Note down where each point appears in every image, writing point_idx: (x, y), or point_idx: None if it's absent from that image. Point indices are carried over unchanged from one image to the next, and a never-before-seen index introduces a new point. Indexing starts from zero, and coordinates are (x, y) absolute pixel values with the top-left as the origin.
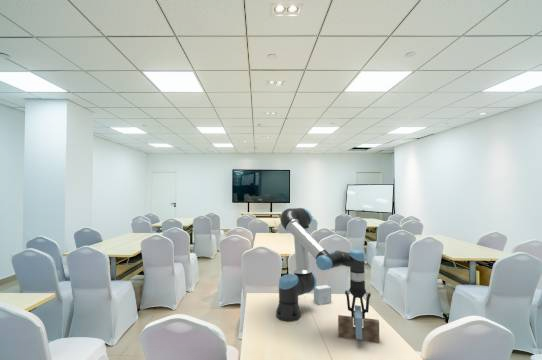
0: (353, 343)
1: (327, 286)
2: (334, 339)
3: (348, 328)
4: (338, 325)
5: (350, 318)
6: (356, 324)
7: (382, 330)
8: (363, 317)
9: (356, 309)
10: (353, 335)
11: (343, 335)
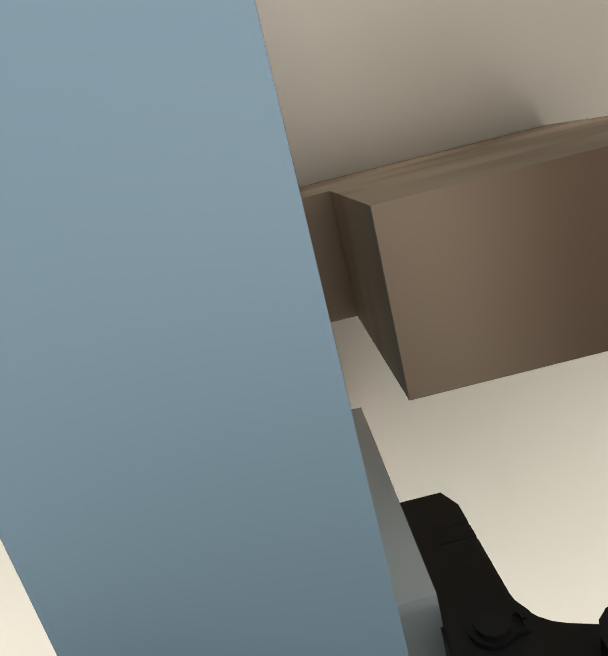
0: (280, 45)
1: None
2: (592, 14)
3: (432, 164)
4: None
5: (469, 221)
6: None
7: (10, 643)
8: None
9: None
10: (314, 186)
11: (477, 144)
